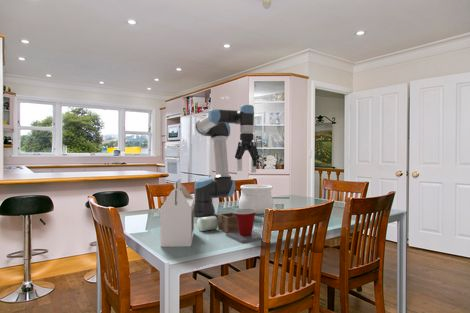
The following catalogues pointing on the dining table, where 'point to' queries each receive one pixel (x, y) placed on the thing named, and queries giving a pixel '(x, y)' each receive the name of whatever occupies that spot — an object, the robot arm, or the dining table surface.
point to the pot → (256, 197)
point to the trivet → (244, 237)
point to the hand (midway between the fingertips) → (246, 171)
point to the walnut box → (228, 222)
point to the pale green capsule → (207, 223)
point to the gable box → (177, 218)
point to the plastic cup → (245, 221)
